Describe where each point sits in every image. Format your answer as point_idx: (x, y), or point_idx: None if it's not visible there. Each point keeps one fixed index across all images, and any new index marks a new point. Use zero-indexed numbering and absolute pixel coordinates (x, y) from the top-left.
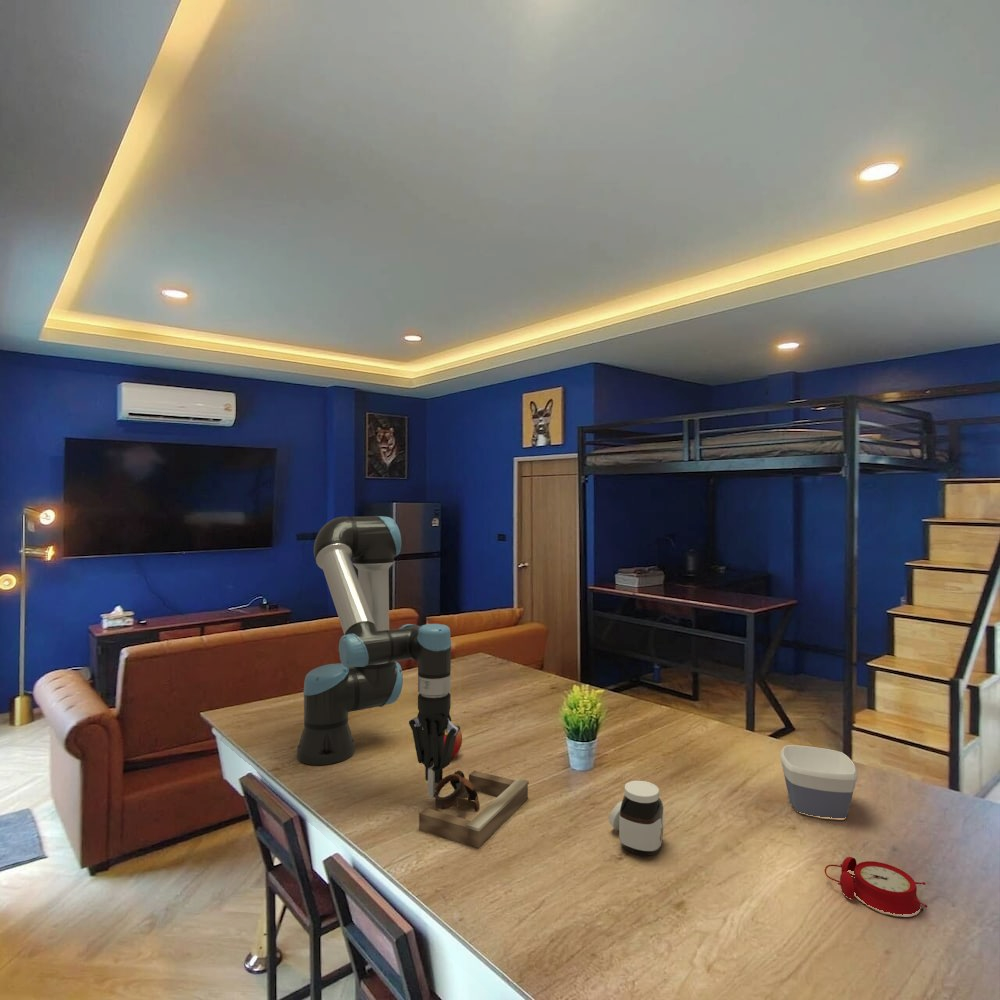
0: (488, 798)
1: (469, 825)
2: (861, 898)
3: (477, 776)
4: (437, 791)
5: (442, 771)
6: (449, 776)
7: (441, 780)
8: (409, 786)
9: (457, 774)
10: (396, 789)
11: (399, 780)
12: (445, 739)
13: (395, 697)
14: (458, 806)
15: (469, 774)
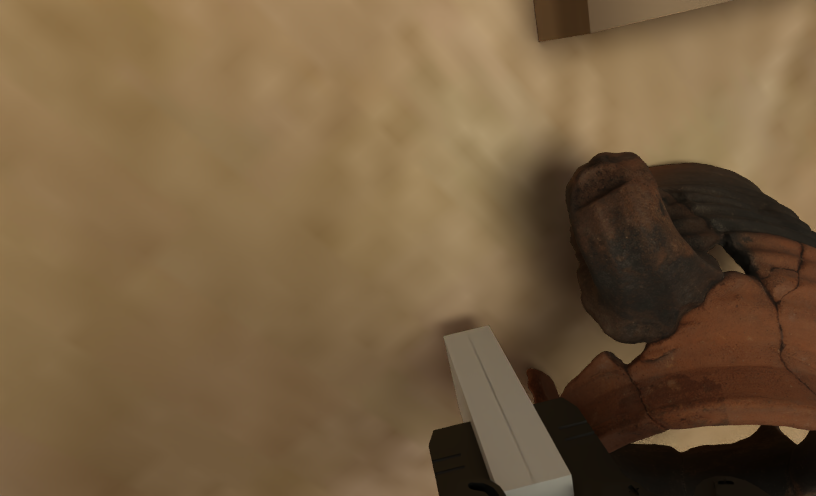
0: (746, 54)
1: None
2: None
3: (689, 7)
4: None
5: (611, 457)
6: (688, 426)
7: (602, 443)
8: (155, 320)
9: (794, 412)
10: (132, 405)
11: (9, 312)
12: None
13: None
14: (778, 426)
15: (593, 26)
